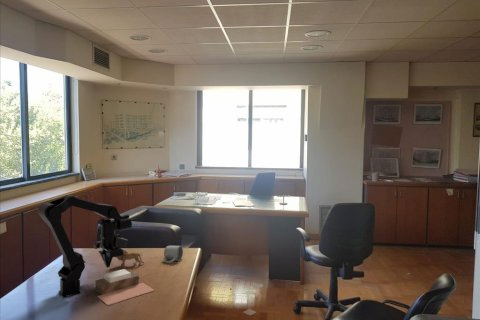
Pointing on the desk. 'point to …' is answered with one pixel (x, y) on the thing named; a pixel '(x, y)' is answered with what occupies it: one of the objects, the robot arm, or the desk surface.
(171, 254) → the ceramic mug
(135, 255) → the lion figurine
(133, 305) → the desk surface
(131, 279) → the brown long block
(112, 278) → the white flat block
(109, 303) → the mat
